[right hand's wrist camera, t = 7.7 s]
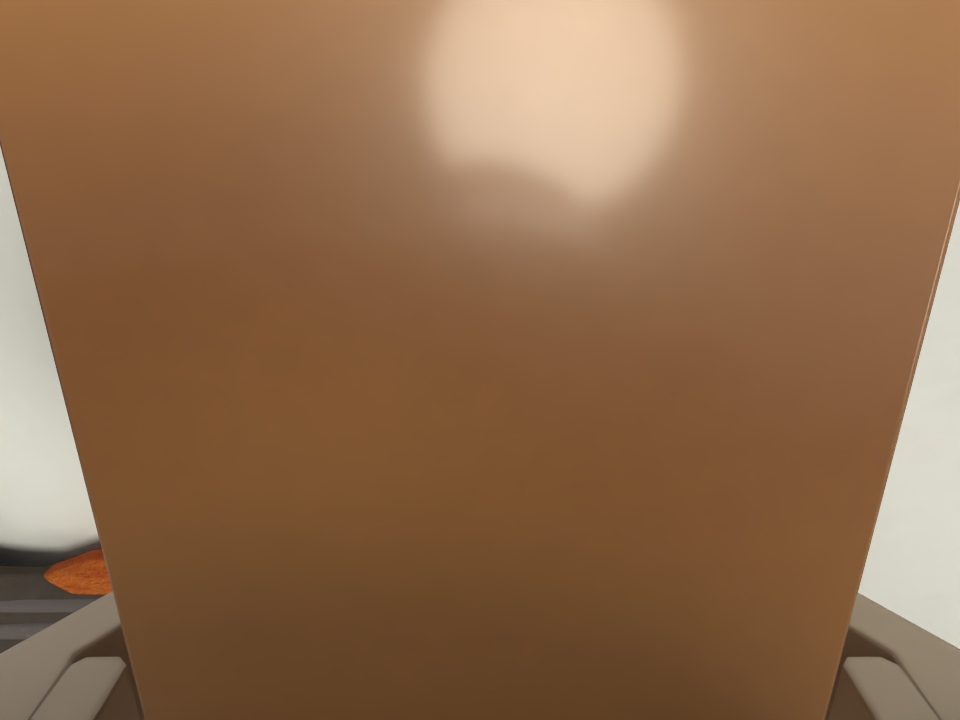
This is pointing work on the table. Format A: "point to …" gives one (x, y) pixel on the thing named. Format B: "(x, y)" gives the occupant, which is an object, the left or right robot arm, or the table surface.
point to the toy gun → (48, 594)
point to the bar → (484, 337)
